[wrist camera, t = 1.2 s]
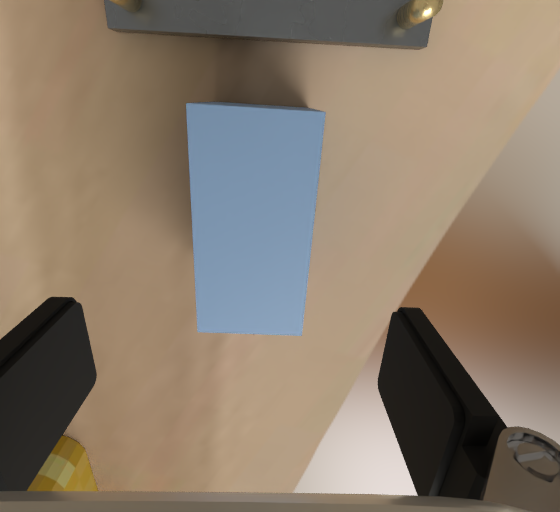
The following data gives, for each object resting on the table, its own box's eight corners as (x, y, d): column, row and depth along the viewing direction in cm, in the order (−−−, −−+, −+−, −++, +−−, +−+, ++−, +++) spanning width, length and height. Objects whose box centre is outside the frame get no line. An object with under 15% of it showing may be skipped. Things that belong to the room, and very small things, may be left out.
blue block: (214, 101, 22) (186, 103, 15) (307, 107, 22) (325, 112, 15) (217, 268, 27) (197, 332, 20) (293, 272, 27) (301, 335, 20)
